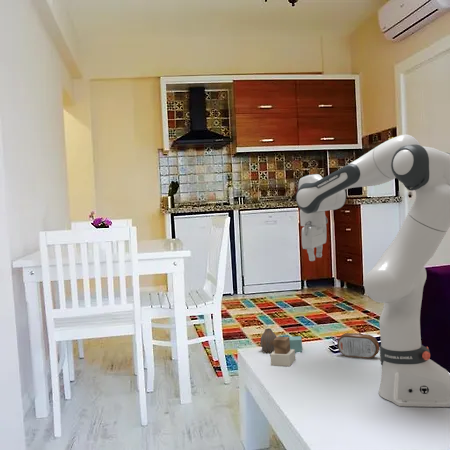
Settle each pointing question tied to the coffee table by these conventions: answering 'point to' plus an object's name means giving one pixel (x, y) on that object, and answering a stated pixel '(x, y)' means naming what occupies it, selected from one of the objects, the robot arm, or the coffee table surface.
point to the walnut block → (281, 345)
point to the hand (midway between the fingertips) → (315, 259)
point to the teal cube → (296, 343)
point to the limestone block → (283, 358)
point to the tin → (358, 345)
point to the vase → (268, 340)
